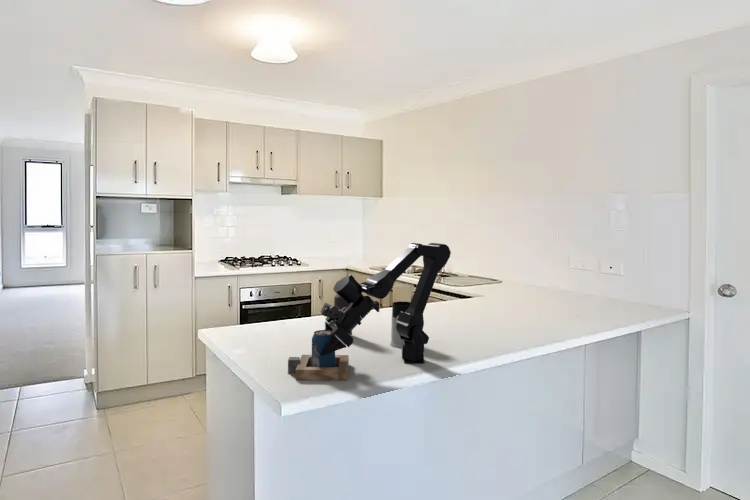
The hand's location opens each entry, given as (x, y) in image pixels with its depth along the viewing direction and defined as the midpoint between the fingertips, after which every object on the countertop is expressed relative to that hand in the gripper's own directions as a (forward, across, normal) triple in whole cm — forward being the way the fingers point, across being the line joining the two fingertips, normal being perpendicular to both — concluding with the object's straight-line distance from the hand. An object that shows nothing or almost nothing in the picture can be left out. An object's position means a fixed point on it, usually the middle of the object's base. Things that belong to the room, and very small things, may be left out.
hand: (318, 350), depth 150 cm
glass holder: (-18, -27, +28) cm, 43 cm away
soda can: (+4, 0, +6) cm, 7 cm away
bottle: (-5, -40, +15) cm, 43 cm away
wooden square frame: (+5, 0, +5) cm, 7 cm away
